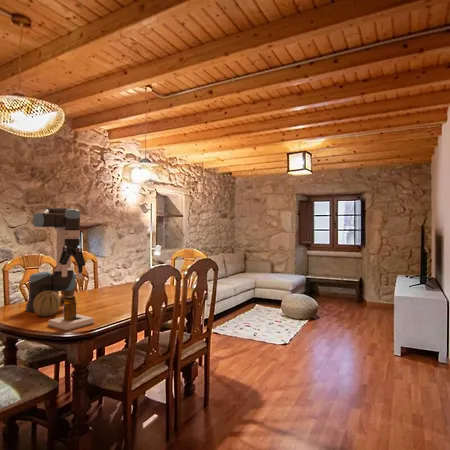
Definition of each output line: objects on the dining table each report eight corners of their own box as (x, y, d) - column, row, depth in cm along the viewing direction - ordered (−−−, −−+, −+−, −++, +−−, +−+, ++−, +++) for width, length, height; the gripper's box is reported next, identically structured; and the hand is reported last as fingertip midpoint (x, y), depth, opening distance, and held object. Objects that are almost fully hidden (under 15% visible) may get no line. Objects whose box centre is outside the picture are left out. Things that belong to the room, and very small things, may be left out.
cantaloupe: (44, 312, 213) (44, 287, 213) (66, 313, 211) (66, 288, 211) (26, 318, 199) (26, 292, 199) (49, 319, 196) (50, 292, 196)
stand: (47, 325, 184) (47, 320, 184) (76, 319, 198) (76, 313, 198) (66, 331, 175) (66, 325, 175) (94, 323, 189) (94, 318, 189)
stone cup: (75, 302, 242) (75, 280, 242) (56, 303, 239) (57, 281, 239) (78, 298, 256) (79, 277, 257) (61, 299, 253) (61, 278, 253)
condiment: (60, 319, 185) (60, 297, 185) (74, 316, 192) (75, 294, 192) (68, 321, 181) (68, 298, 181) (82, 318, 188) (83, 296, 188)
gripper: (52, 237, 192) (52, 276, 191) (80, 239, 178) (79, 280, 178) (65, 237, 198) (64, 275, 198) (92, 238, 184) (92, 279, 184)
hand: (71, 277), depth 188 cm, fingers open, 13 cm apart
